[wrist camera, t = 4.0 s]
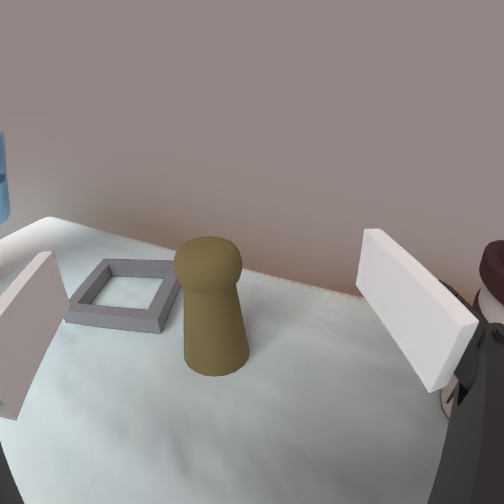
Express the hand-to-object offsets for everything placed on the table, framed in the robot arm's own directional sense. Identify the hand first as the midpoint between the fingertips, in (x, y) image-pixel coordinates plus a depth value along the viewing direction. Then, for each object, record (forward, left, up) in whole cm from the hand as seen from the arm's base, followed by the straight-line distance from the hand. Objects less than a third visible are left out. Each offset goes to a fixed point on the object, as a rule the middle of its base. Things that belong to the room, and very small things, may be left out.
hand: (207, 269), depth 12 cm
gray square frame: (-14, +18, -15) cm, 27 cm away
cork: (-2, +10, -15) cm, 18 cm away
